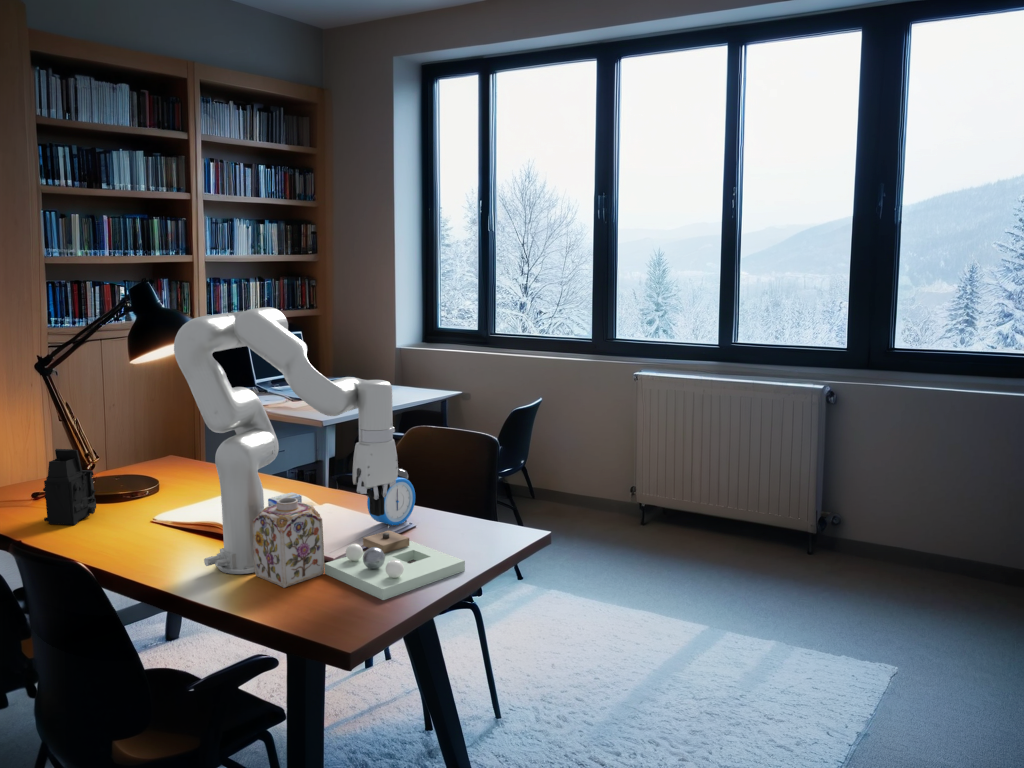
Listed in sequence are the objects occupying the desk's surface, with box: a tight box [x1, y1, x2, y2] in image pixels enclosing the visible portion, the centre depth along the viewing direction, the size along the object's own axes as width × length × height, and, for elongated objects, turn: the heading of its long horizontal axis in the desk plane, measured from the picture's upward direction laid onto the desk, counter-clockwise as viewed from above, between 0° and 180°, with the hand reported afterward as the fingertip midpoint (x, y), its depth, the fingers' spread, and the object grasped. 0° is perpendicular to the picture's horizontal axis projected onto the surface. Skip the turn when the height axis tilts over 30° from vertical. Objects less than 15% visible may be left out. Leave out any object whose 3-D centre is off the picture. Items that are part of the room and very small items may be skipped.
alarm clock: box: [366, 467, 416, 527], centre depth 235 cm, size 13×6×15 cm, turn 143°
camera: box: [42, 448, 97, 526], centre depth 239 cm, size 10×14×20 cm
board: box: [324, 539, 466, 601], centre depth 201 cm, size 24×22×2 cm
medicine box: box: [267, 492, 303, 507], centre depth 232 cm, size 8×4×9 cm, turn 141°
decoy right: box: [386, 560, 404, 578], centre depth 191 cm, size 4×4×4 cm
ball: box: [363, 547, 385, 570], centre depth 196 cm, size 5×5×5 cm
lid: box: [362, 530, 410, 553], centre depth 210 cm, size 8×8×3 cm
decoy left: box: [345, 543, 364, 561], centre depth 201 cm, size 4×4×4 cm
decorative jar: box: [253, 498, 325, 589], centre depth 198 cm, size 12×12×18 cm
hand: (377, 514), depth 195 cm, fingers closed
